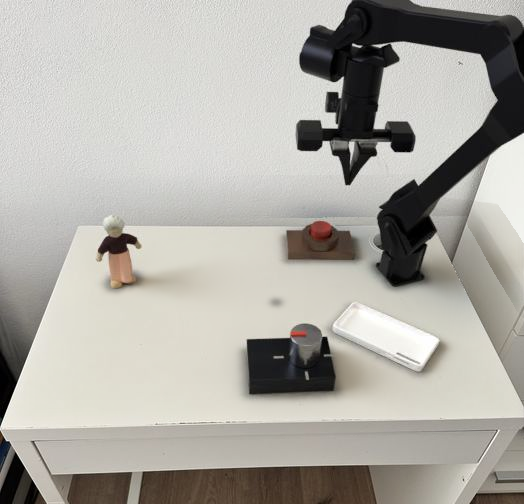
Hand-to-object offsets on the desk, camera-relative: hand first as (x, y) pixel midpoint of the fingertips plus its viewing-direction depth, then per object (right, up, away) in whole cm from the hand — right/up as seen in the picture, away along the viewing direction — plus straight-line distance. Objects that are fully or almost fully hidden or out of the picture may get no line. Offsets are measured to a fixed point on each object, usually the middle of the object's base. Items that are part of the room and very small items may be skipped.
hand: (347, 184), depth 93 cm
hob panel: (-11, -32, -14) cm, 37 cm away
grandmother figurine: (-38, -17, 0) cm, 42 cm away
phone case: (+4, -27, -9) cm, 29 cm away
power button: (-4, -8, +5) cm, 10 cm away
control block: (-4, -10, +7) cm, 13 cm away
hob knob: (-9, -30, -16) cm, 35 cm away
